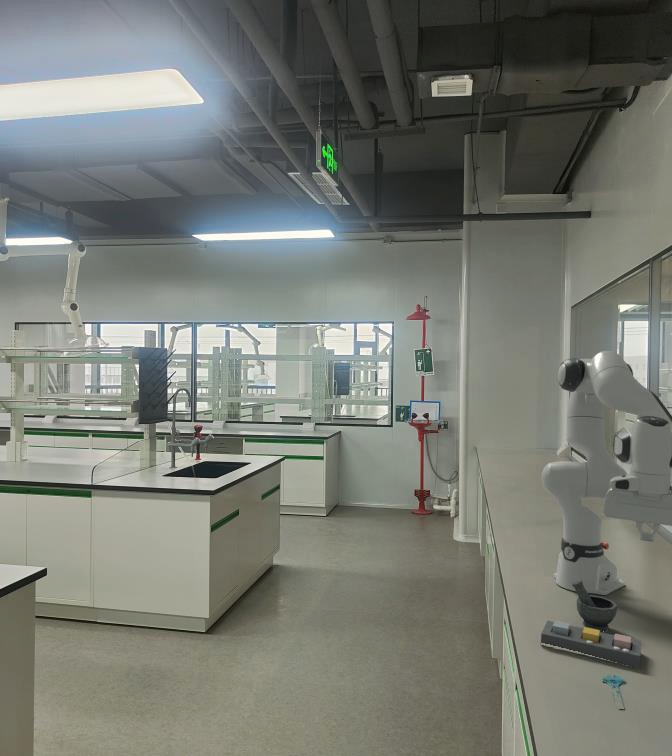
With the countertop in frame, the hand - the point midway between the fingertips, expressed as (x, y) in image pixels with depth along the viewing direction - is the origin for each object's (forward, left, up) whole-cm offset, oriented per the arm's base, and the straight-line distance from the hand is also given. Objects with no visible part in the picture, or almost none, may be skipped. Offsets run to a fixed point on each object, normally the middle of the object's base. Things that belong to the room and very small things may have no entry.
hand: (646, 540), depth 153 cm
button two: (+6, -1, -25) cm, 26 cm away
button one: (+10, -7, -25) cm, 28 cm away
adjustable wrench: (+23, +9, -28) cm, 37 cm away
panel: (+10, -7, -28) cm, 30 cm away
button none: (+13, -13, -25) cm, 31 cm away
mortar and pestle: (-2, -15, -28) cm, 32 cm away
